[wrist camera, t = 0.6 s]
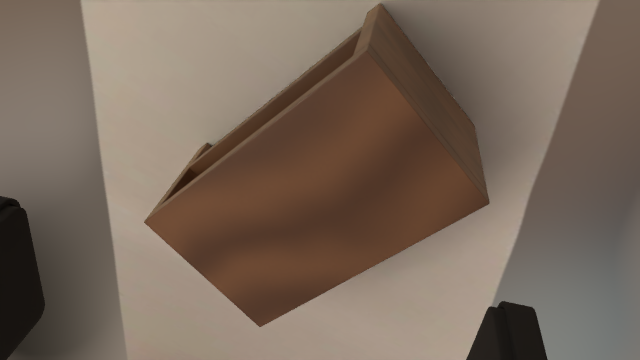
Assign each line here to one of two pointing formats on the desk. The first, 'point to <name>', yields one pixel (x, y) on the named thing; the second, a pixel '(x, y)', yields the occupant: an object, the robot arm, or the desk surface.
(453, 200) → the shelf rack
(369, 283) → the desk surface
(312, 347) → the desk surface
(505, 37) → the desk surface
